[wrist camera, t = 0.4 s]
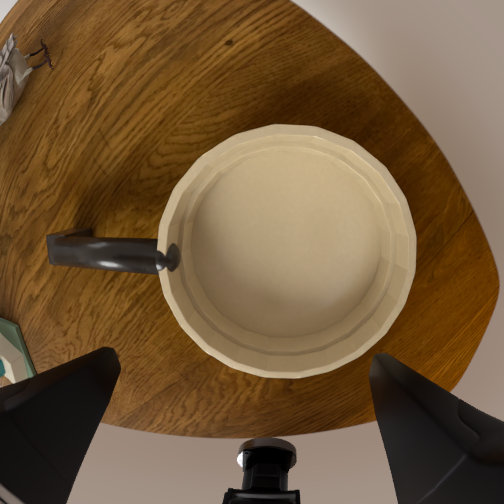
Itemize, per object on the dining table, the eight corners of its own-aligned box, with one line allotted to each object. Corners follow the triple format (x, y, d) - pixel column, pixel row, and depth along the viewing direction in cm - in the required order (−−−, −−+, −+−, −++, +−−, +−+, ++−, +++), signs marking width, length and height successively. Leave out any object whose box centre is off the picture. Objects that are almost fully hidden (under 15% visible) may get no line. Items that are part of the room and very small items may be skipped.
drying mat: (43, 389, 27) (40, 391, 26) (13, 371, 27) (10, 373, 27) (18, 325, 24) (15, 327, 23) (-9, 312, 25) (-12, 314, 24)
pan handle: (196, 261, 20) (174, 282, 15) (74, 254, 21) (40, 268, 16) (196, 229, 19) (172, 241, 15) (72, 228, 20) (36, 237, 16)
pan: (371, 342, 20) (388, 374, 16) (187, 335, 21) (168, 366, 17) (394, 151, 17) (424, 142, 12) (181, 141, 18) (155, 129, 13)
